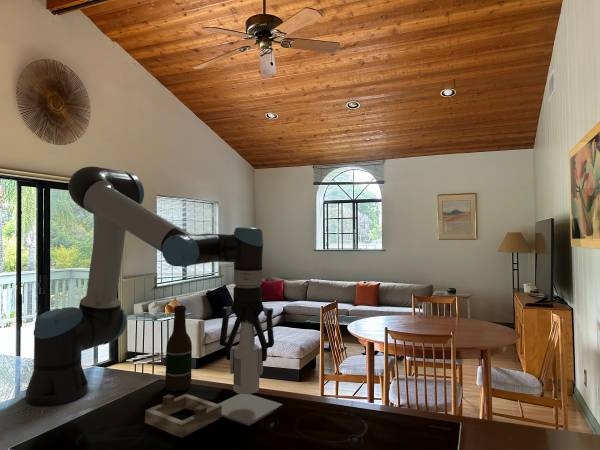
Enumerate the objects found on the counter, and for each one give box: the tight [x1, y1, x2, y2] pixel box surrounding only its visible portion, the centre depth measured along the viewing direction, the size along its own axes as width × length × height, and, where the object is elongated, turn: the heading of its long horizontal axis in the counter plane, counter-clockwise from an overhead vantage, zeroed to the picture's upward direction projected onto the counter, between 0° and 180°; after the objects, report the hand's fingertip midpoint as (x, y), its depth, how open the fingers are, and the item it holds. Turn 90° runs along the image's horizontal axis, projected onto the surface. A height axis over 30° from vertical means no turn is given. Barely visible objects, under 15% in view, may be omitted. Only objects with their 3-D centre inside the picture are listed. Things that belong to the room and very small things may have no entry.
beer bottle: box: [164, 305, 193, 392], centre depth 130 cm, size 8×8×24 cm
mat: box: [217, 393, 283, 426], centre depth 116 cm, size 14×14×1 cm
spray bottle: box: [232, 321, 260, 395], centre depth 116 cm, size 7×7×18 cm
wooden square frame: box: [144, 393, 223, 439], centre depth 109 cm, size 14×13×4 cm
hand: (246, 372), depth 116 cm, fingers closed on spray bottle, 7 cm apart
